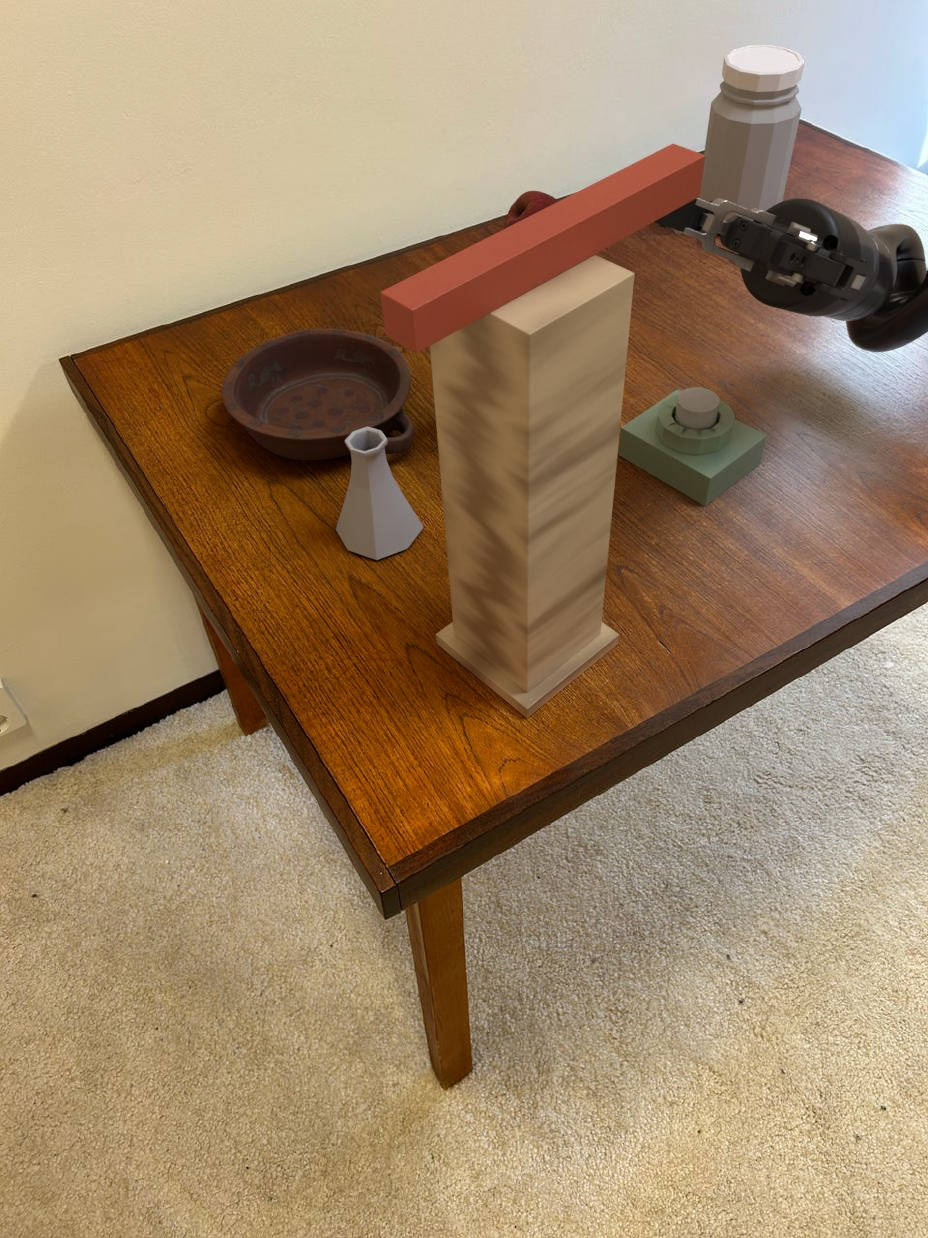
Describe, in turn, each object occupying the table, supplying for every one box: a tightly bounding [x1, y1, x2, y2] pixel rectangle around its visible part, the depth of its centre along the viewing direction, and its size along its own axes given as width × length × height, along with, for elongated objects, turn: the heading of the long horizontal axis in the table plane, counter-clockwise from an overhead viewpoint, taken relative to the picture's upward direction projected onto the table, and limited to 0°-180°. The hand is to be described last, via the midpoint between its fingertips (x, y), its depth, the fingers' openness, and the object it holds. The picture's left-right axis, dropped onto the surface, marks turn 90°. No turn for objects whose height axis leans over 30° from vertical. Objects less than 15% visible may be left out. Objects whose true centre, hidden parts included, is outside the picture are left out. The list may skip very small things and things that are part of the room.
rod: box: [379, 143, 705, 354], centre depth 51 cm, size 2×22×2 cm, turn 133°
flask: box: [335, 427, 424, 561], centre depth 80 cm, size 7×7×10 cm
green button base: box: [617, 389, 768, 507], centre depth 86 cm, size 10×8×5 cm
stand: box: [429, 254, 636, 719], centre depth 63 cm, size 10×10×31 cm
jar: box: [698, 44, 805, 235], centre depth 110 cm, size 10×10×18 cm
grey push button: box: [675, 386, 721, 430], centre depth 84 cm, size 4×4×2 cm
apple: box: [503, 190, 560, 230], centre depth 110 cm, size 7×8×8 cm
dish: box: [221, 328, 415, 461], centre depth 93 cm, size 18×22×5 cm
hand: (711, 225), depth 61 cm, fingers open, 8 cm apart
